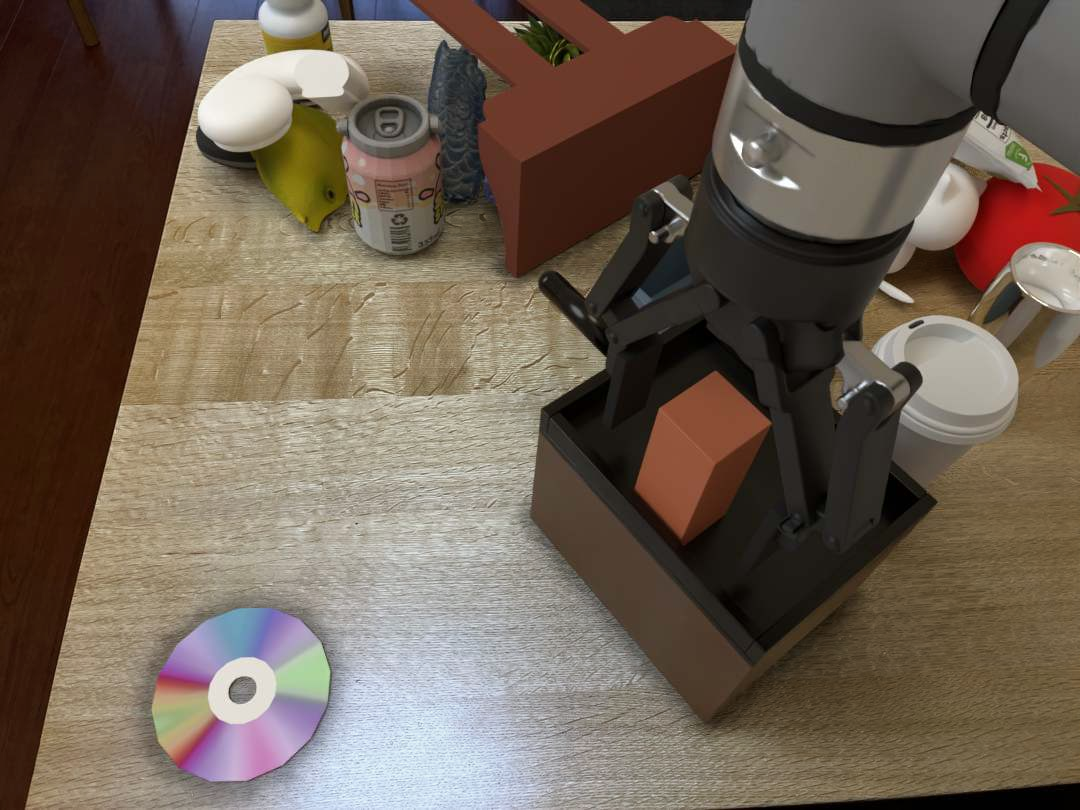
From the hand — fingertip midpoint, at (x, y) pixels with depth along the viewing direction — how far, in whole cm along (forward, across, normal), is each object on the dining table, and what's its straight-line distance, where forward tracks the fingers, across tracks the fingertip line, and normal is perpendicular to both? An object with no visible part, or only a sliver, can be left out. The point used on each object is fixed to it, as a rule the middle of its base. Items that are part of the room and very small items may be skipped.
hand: (688, 481), depth 49 cm
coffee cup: (+16, +4, +20) cm, 26 cm away
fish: (+11, -50, -3) cm, 52 cm away
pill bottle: (+16, -61, +8) cm, 64 cm away
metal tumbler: (+16, +4, +32) cm, 36 cm away
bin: (+16, -14, +19) cm, 28 cm away
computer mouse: (+12, -56, 0) cm, 58 cm away
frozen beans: (-2, -29, +38) cm, 48 cm away
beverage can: (+16, -40, +6) cm, 43 cm away
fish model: (+16, -47, +17) cm, 52 cm away
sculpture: (+9, -49, +2) cm, 50 cm away
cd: (+16, -11, -26) cm, 32 cm away
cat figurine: (+16, -11, +36) cm, 41 cm away
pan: (+16, -4, +4) cm, 17 cm away
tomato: (+16, -3, +46) cm, 49 cm away
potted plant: (+16, -41, +26) cm, 51 cm away
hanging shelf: (+9, -28, +22) cm, 37 cm away
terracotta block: (+3, 0, 0) cm, 3 cm away
